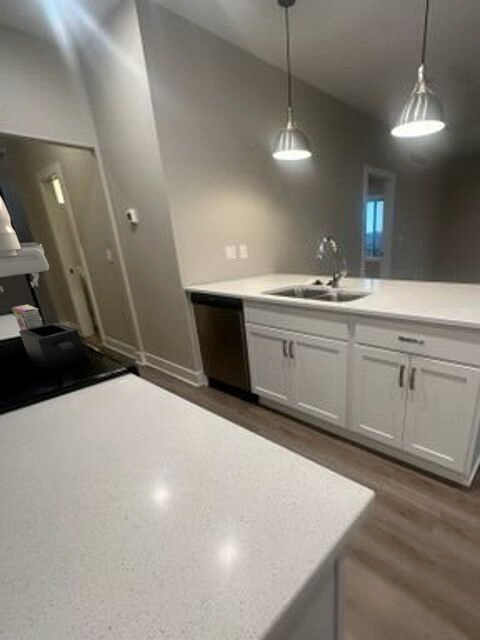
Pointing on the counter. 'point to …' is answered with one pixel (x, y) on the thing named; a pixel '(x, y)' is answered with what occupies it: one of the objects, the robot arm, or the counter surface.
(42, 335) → the dark grey storage bin
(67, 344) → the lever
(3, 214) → the robot arm
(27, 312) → the candy bar box
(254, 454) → the counter surface
